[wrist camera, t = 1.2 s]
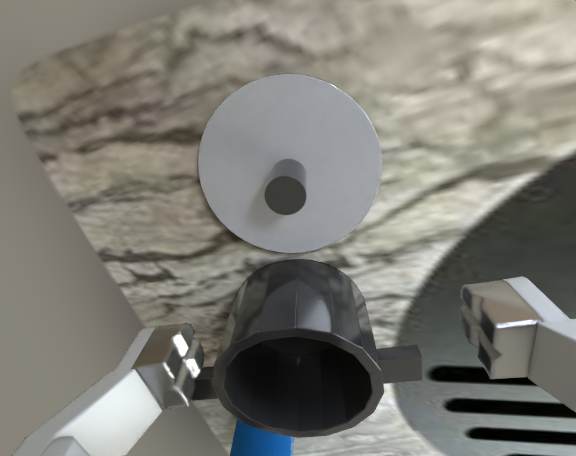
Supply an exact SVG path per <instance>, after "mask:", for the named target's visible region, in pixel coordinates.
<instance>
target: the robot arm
mask: <svg viewBox="0 0 576 456" xmlns="http://www.w3.org/2000/svg"><path fill="white" fill-rule="evenodd" d="M461 299H462V300H463V302H464V303H465V304H464V305H463V307H462V308H461V309H460V319H461V324H462V328H463V331H464V333H465V335H466V337H467V339H468V341H469V343H470V344H472V345H474V346H475V347H477V348H478V358H479V360H480V361H481V363H482V365H483V366H484V368H485V370H486V371H487V373H488V375H489V376H490V378H491V379H500V378H515V377H528V379H530V380H531V381H532V382H534V383H535V384H537V385H538V386H539V387H541V388H542V389H544V390H545V391H546V392H548V393H549V394H551V395H552V396H554V397H555V398H556V399H558V400H559V401H561V402H562V403H563V404H565V405H566V406H568V407H569V408H570V409H572V410H573V411H575V412H576V319H569V318H568V317H567V316H566V315H565V314H564V313H563V312H562V311H561V310H560V309H559V308H558V307H557V306H556V305H555V304H554V303H552V302H551V301H550V300H549V299H548V298H547V297H546V296H545V295H544V294H543V293H542V292H541V291H540V290H539V289H538V288H537V287H536V286H535V285H534V284H532V283H531V282H530V281H529V280H528V279H527V278H525V277H516V278H510V279H503V280H498V281H491V282H484V283H477V284H470V285H463V286H462V288H461ZM194 333H195V331H194V329H193V327H192V326H191V324H188V323H183V324H174V325H165V326H158V327H149V328H144V329H142V330H141V331H140V332H139V334H138V335H137V337H136V338H135V340H134V341H133V343H132V344H131V346H130V348H129V349H128V350H127V352H126V354H125V355H124V357H123V358H122V360H121V361H120V363H119V364H118V366H117V368H116V369H115V371H113V372H109V373H107V374H106V375H105V376H104V377H102V378H101V379H100V380H99V381H97V382H96V383H95V384H93V385H92V386H91V387H90V388H88V389H87V390H86V391H84V392H83V393H82V394H81V395H79V396H78V397H77V398H76V399H74V400H73V401H72V402H70V403H69V404H68V405H67V406H65V407H64V408H63V409H61V410H60V411H59V412H57V413H56V414H55V415H54V416H52V417H51V418H50V419H49V420H47V421H46V422H45V423H44V424H42V425H41V426H40V427H38V428H37V429H36V430H34V431H33V432H32V433H31V434H30V435H28V436H27V437H25V438H24V440H23V441H22V442H21V444H20V445H19V446H18V448H17V449H16V450H15V451H14V453H13V454H12V455H11V456H125V455H126V454H127V453H128V452H129V450H130V449H131V448H132V447H133V446H134V444H135V443H136V442H137V441H138V440H139V439H140V437H141V436H142V435H143V434H144V433H145V431H146V430H147V429H148V428H149V427H150V425H151V424H152V423H153V422H154V421H155V420H156V418H157V417H158V416H159V415H160V414H161V412H162V410H164V409H171V408H180V407H187V406H189V404H190V401H191V398H192V396H193V393H194V390H195V387H196V384H195V382H194V379H195V378H196V377H197V376H198V375H199V374H200V373H201V370H202V367H203V362H204V352H203V347H202V345H201V343H200V342H199V341H198V340H196V339H195V338H193V335H194Z"/></svg>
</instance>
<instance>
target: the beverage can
mask: <svg viewBox="0 0 576 456" xmlns="http://www.w3.org/2000/svg"><path fill="white" fill-rule="evenodd" d="M293 439H294V437H291V436H285V435H278V434H272V433H267V432H264V431H262V430H259V429H257V428H255V427H252V426H250V425H247V424H245V423H243V422H242V421H240V420H239V419H238V418H237V423H236V428H235V433H234V438H233V443H232V448H231V453H230V456H293Z"/></svg>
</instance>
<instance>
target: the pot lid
mask: <svg viewBox="0 0 576 456" xmlns="http://www.w3.org/2000/svg"><path fill="white" fill-rule="evenodd" d="M198 171H199V177H200V183H201V186H202V189H203V193H204V195H205V197H206V200H207V202H208V204H209V205H210V207H211V209H212V210H213V212H214V214H215V215H216V216H217V217H218V219H219V220H220V221H221V222H222V223H223V224H224V225H225V226H226V227H227V228H228V229H229V230H230V231H231V232H233V233H234V234H235V235H236V236H238V237H240V238H241V239H243V240H244V241H246V242H248V243H250V244H252V245H254V246H257V247H260V248H263V249H266V250H270V251H274V252H282V253H301V252H309V251H313V250H317V249H320V248H323V247H326V246H328V245H331V244H333V243H335V242H337V241H338V240H340V239H342V238H343V237H345V236H346V235H347V234H349V233H350V232H351V231H352V230H354V229H355V227H356V226H357V225H358V224H359V223H360V222H361V221H362V220H363V219H364V217H365V216H366V215H367V213H368V212H369V210H370V208H371V206H372V205H373V203H374V201H375V198H376V196H377V193H378V190H379V186H380V182H381V175H382V154H381V148H380V143H379V140H378V137H377V134H376V131H375V129H374V127H373V125H372V123H371V121H370V119H369V118H368V116H367V115H366V113H365V112H364V110H363V109H362V108H361V107H360V106H359V105H358V104H357V103H356V101H355V100H353V99H352V98H351V97H350V96H349V95H347V94H346V93H345V92H344V91H342V90H341V89H339V88H337V87H336V86H334V85H333V84H330V83H328V82H326V81H323V80H321V79H318V78H314V77H311V76H307V75H299V74H278V75H272V76H267V77H264V78H261V79H257V80H254V81H252V82H250V83H248V84H246V85H244V86H242V87H240V88H239V89H237V90H236V91H235V92H233V93H232V94H230V95H229V96H228V97H227V98H226V99H225V100H224V101H223V102H222V103H221V104H220V105H219V106H218V108H217V109H216V110H215V111H214V113H213V114H212V116H211V118H210V119H209V121H208V123H207V125H206V127H205V130H204V132H203V135H202V138H201V142H200V146H199V154H198Z"/></svg>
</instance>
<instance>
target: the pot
mask: <svg viewBox="0 0 576 456" xmlns="http://www.w3.org/2000/svg"><path fill="white" fill-rule="evenodd" d="M418 380H422V356H421V354H420V351H419V349H418V346H417V345H409V346H400V347H391V348H381V349H376V346H375V341H374V337H373V333H372V329H371V325H370V321H369V316H368V312H367V308H366V304H365V300H364V297H363V296H362V294H361V292H360V290H359V289H358V287H357V285H356V284H355V283H354V282H353V281H352V280H351V279H350V278H349V277H348V276H347V275H346V274H344V273H343V272H341V271H340V270H338V269H336V268H334V267H332V266H330V265H327V264H324V263H321V262H317V261H312V260H304V259H293V260H284V261H279V262H275V263H272V264H269V265H267V266H265V267H263V268H260V269H259V270H257V271H256V272H254V273H253V274H252V275H251V276H249V277H248V278H247V279H246V281H245V282H244V283H243V284H242V286H241V287H240V289H239V291H238V293H237V294H236V296H235V299H234V303H233V306H232V309H231V312H230V316H229V319H228V322H227V325H226V329H225V332H224V335H223V338H222V341H221V345H220V348H219V351H218V354H217V358H216V361H215V364H214V366H212V367H202V370H201V373H200V374H199V375H198V376H197V377H196V378H195V379H194V382H195V384H196V387H195V390H194V393H193V396H192V398H191V400H192V401H193V400H204V399H216V398H219V400H220V402H221V404H222V406H223V407H224V408H226V409H227V410H228V411H229V412H230V413H232V414H233V415H234V416H235V417H237V418H238V419H239V420H240V421H242V422H243V423H245V424H247V425H250V426H252V427H255V428H257V429H259V430H262V431H264V432H267V433H272V434H278V435H285V436H291V437H298V438H300V437H315V436H327V435H331V434H334V433H337V432H340V431H343V430H346V429H349V428H352V427H355V426H356V425H357V424H359V423H360V422H361V421H363V420H364V419H365V418H367V417H368V416H370V415H371V414H372V413H373V412H374V411H375V409H376V407H377V405H378V403H379V401H380V399H381V398H382V396H383V394H384V387H383V384H385V383H396V382H407V381H418Z"/></svg>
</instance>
